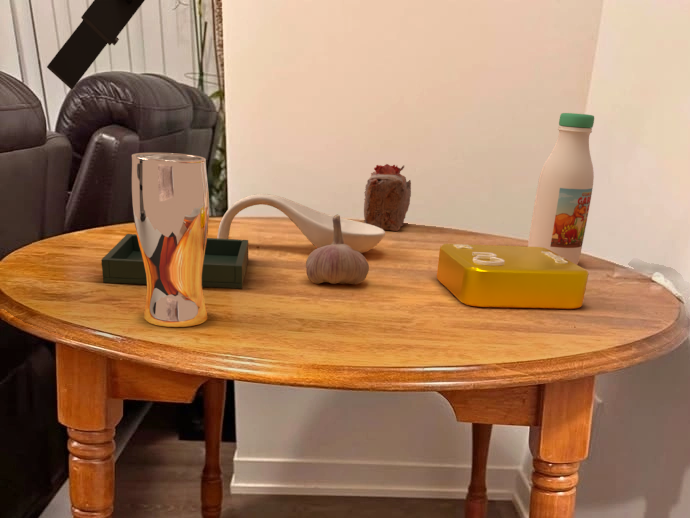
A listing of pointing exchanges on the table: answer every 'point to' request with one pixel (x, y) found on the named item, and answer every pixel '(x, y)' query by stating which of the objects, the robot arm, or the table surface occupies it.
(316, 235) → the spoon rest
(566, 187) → the milk bottle
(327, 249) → the garlic bulb
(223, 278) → the serving tray
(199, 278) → the beer glass
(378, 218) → the food item
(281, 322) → the table surface
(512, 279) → the element tile
